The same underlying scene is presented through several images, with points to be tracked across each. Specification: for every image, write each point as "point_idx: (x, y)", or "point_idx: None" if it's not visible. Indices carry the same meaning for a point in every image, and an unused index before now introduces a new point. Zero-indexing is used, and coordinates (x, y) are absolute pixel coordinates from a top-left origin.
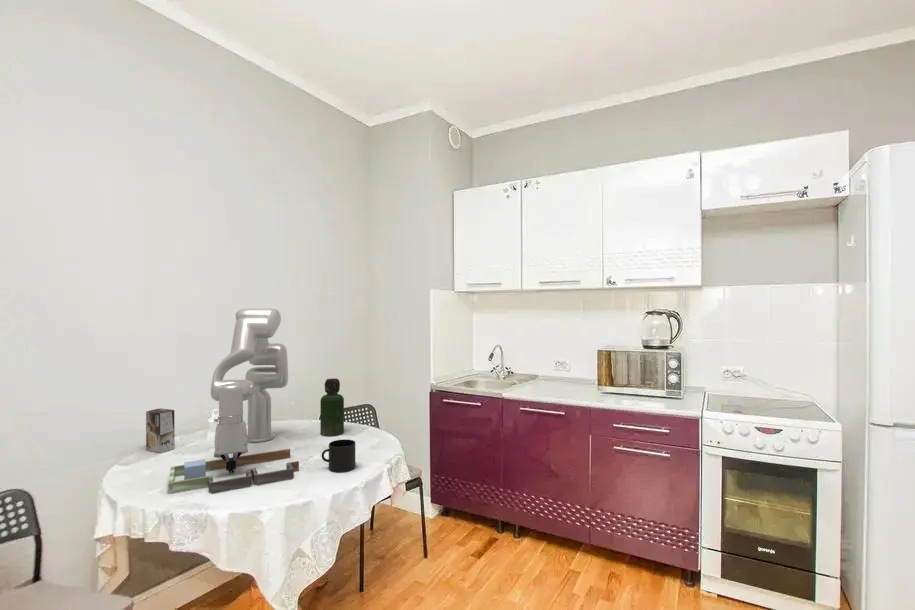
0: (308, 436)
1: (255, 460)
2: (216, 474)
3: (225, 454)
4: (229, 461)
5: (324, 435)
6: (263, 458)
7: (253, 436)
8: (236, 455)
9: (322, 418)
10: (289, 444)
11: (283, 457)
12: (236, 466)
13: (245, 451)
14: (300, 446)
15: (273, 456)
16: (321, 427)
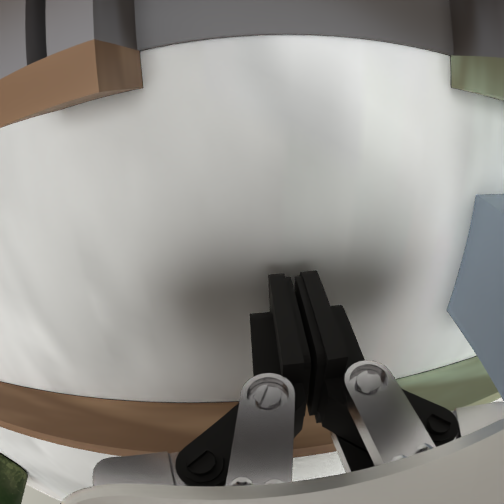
0: (48, 476)
1: (129, 416)
2: (384, 320)
3: (424, 449)
4: (335, 375)
5: (7, 459)
6: (86, 415)
7: None
8: (250, 443)
9: (2, 501)
10: (72, 470)
11: (10, 390)
12: None
13: (123, 477)
14: (26, 444)
15: (41, 409)
16: (13, 482)
